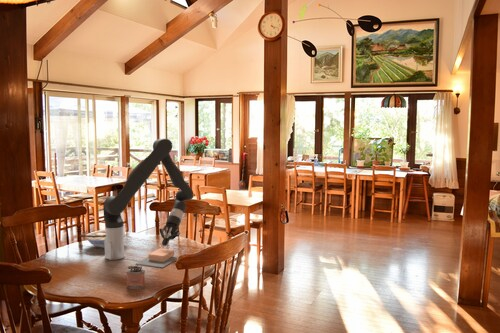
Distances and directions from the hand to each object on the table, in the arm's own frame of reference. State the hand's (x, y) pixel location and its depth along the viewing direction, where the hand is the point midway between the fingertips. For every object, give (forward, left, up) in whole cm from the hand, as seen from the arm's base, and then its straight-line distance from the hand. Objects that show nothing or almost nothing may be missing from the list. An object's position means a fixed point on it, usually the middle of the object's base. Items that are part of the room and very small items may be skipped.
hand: (164, 245), depth 218 cm
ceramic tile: (+3, +1, -4) cm, 5 cm away
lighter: (-34, -23, -7) cm, 41 cm away
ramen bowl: (-9, +42, -7) cm, 44 cm away
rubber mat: (-6, -2, -7) cm, 9 cm away
